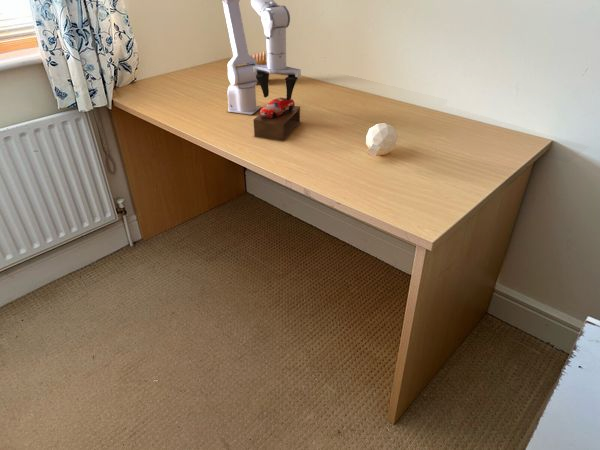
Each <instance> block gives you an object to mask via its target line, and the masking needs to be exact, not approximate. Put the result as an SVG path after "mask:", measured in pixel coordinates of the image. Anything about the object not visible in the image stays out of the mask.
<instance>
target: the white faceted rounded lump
mask: <svg viewBox="0 0 600 450" xmlns="http://www.w3.org/2000/svg"><path fill="white" fill-rule="evenodd" d="M397 143H398V133H397V131H396V130H395V128H394V126H393V125H390V124H388V123H386V122H382V123H381V122H380V123H377V124H375V125H373V126H371V127H369V129H368V131H367V133H366V135H365V145H366V146H367V148H368V152H367V155H368V156H371V157H373V158H376V157H377V156H382V155H387V154H388V153H390V152H393V150H394V149H395V147H396V145H397Z"/></svg>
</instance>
